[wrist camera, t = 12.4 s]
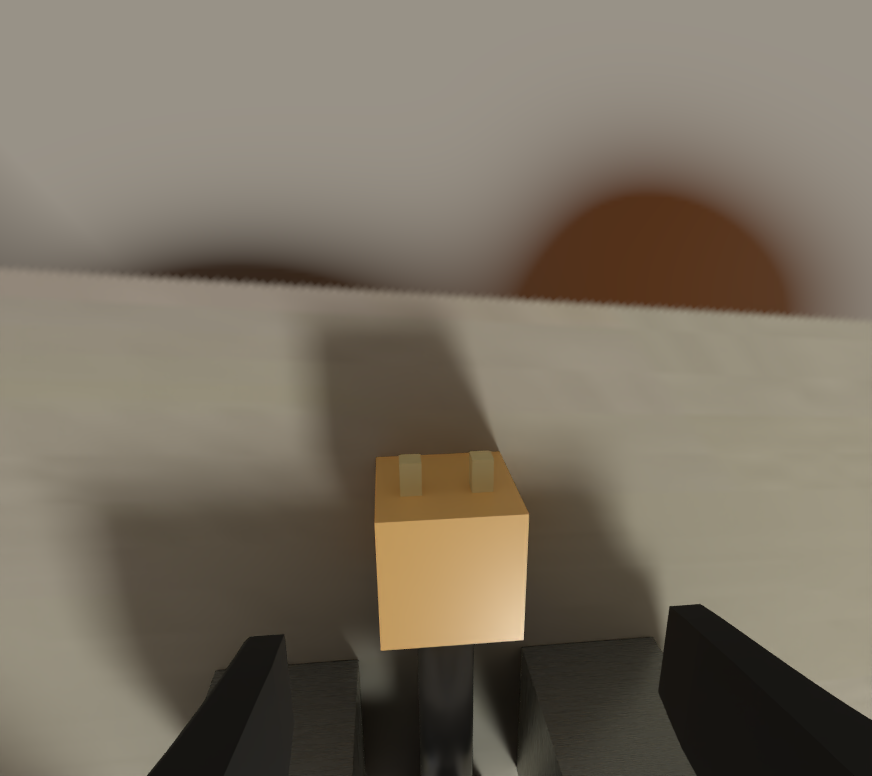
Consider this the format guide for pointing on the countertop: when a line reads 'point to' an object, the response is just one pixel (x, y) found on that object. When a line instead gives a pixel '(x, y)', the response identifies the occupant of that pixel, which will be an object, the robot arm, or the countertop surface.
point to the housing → (538, 714)
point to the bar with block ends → (448, 582)
